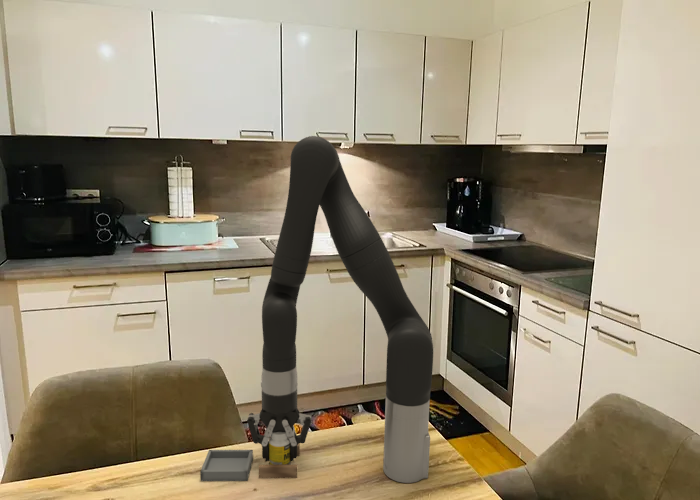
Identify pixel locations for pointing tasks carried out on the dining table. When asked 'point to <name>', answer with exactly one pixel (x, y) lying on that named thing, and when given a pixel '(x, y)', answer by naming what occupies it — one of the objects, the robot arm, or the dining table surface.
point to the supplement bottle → (279, 449)
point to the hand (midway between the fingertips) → (279, 458)
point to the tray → (227, 465)
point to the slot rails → (279, 470)
